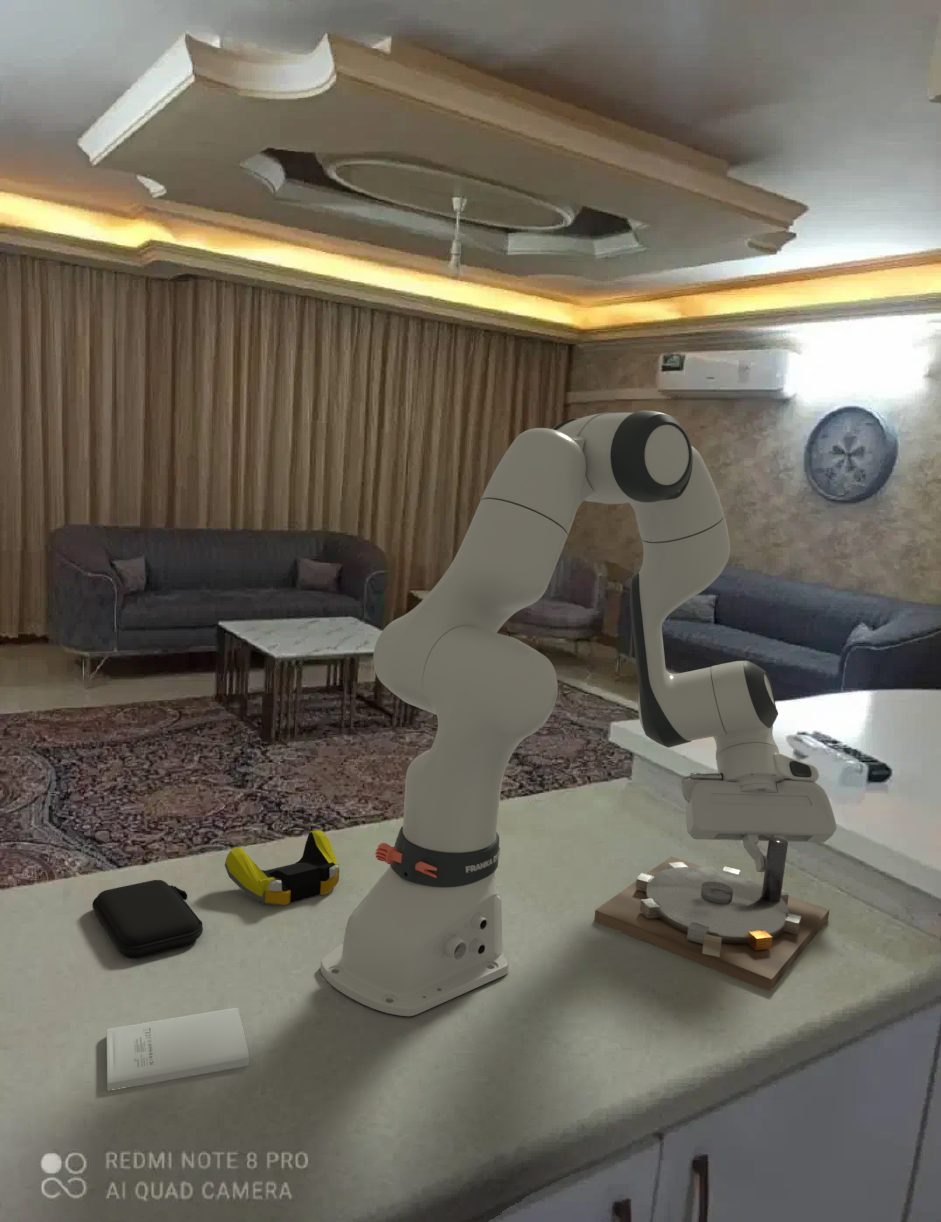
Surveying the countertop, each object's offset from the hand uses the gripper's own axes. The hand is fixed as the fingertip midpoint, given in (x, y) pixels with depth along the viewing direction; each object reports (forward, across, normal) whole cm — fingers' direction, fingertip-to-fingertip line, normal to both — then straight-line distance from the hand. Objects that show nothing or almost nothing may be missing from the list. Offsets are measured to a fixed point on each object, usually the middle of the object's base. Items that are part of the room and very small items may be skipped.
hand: (769, 871), depth 122 cm
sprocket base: (+6, -8, +3) cm, 10 cm away
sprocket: (+4, -8, +2) cm, 9 cm away
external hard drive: (+25, -70, -18) cm, 77 cm away
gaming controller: (+2, -64, +7) cm, 64 cm away
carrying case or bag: (+9, -79, -1) cm, 79 cm away
